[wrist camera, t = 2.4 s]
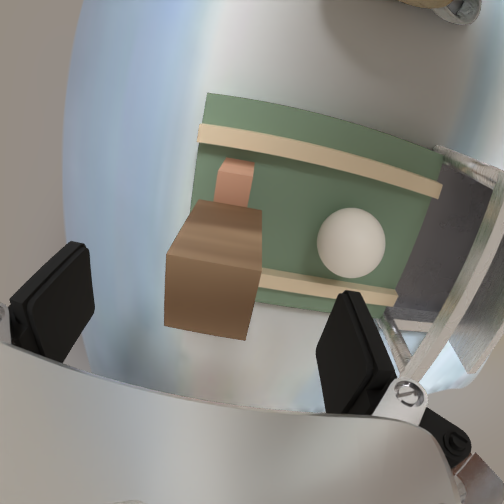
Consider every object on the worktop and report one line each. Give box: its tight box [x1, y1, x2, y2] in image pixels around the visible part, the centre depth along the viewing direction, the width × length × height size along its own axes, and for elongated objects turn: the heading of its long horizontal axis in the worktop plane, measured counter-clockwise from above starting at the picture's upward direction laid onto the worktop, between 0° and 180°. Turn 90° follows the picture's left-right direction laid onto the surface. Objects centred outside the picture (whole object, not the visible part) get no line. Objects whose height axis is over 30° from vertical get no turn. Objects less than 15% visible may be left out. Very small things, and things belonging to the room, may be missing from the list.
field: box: [190, 93, 443, 319], centre depth 19 cm, size 13×15×2 cm
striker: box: [164, 157, 262, 341], centre depth 14 cm, size 6×3×9 cm, turn 169°
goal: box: [376, 145, 504, 382], centre depth 17 cm, size 14×8×8 cm, turn 170°
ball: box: [317, 208, 386, 278], centre depth 17 cm, size 4×4×4 cm
